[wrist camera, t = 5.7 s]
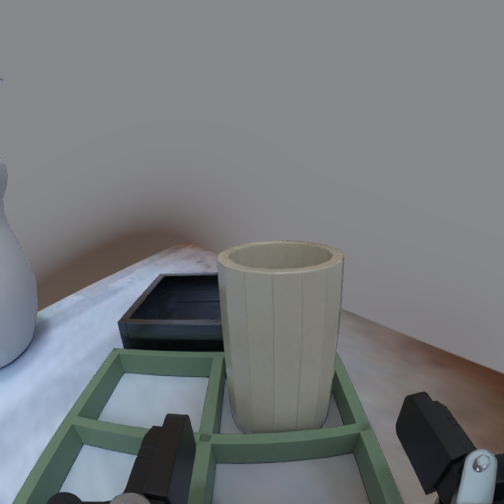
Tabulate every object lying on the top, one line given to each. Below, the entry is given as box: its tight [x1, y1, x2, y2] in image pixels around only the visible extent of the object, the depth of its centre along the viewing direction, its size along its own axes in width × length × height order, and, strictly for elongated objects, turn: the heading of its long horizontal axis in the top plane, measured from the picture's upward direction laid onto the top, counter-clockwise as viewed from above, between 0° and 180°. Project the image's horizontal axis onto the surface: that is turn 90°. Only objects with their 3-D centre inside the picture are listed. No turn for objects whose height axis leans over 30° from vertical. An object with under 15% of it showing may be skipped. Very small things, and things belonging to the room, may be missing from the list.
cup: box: [217, 241, 344, 434], centre depth 17 cm, size 7×7×11 cm
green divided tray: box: [12, 348, 404, 504], centre depth 14 cm, size 18×18×2 cm
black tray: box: [118, 272, 224, 352], centre depth 30 cm, size 14×14×4 cm
